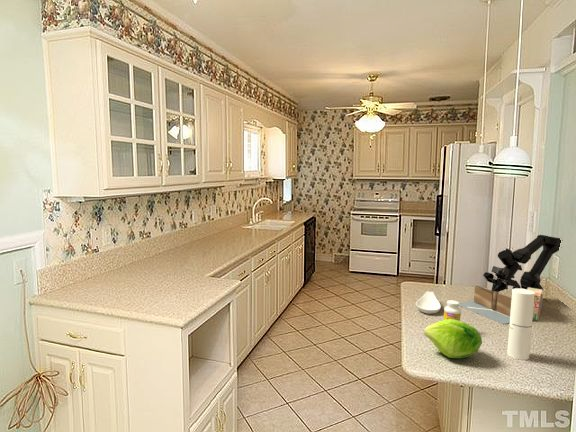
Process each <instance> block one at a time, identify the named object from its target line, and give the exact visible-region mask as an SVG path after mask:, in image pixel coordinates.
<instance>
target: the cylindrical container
mask: <svg viewBox="0 0 576 432" xmlns="http://www.w3.org/2000/svg"><path fill="white" fill-rule="evenodd" d="M534 296H535V292H533V291H530V290H527V289H522V288H520V289H518V288H516V289H513V288H512V289H511V298H512V300H511V313H510V323H509V328H508V339H507V350H506V354H507V356H509V357H510V358H513V359H515V360H520V361H528V360H529V359H530V353H531V341H532V340H531V339H532V331H533V320H532V319H533V308H534Z"/></svg>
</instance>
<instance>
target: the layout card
mask: <svg viewBox="0 0 576 432" xmlns="http://www.w3.org/2000/svg"><path fill="white" fill-rule="evenodd" d="M459 306H460V307H462V308H464V309H466V310H469V311H472V312H474V313H476V314H477V315H481V316H483V317H485V318H487V319H490V320H492V321H494V322H497V323H499V324H501V325H507V324H508V325H509V324H510V317H509V316H506V315H504V314H501V313H499V312H496V311H493V310H492V308H489V307H486V306H484V305H481V304H479V303H476V302H474V300H470V301H463V302H459ZM459 306H458V307H459Z"/></svg>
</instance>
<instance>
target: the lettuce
mask: <svg viewBox="0 0 576 432" xmlns="http://www.w3.org/2000/svg"><path fill="white" fill-rule="evenodd" d="M423 334H424V336H425V337H426V338H428V339H429V340H430V342H431V343H432V344H433V345H434V347H435V348H436V349H437V350H438V351H440V352H441V353H442V354H443V355H444V356H446V357H448V358H450V359H464V358H468V357H471V356H473V355H474V354H475V353H477V352H478V351H479V350H480V348H481V345H482V344H483V340H482V336H481V335H482V334H480V332H479V331H478V329H476V327H474V326H472V325H471V324H468V323H467V322H463V321H461V320H460V321H458V320H454V319H446V320H444V319H443V320H439V321H437V322H434V323H432V324H430V325H428V326H426V327H425V328H424V330H423Z"/></svg>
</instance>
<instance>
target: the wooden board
mask: <svg viewBox="0 0 576 432" xmlns="http://www.w3.org/2000/svg"><path fill="white" fill-rule="evenodd" d="M473 294H474V298H473V301H474V302H476V303H479V304H481V305H484V306H486V307H489V308H492V301H493V291H491V289H487V288H484V287H481V286H478V285H474V293H473Z"/></svg>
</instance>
